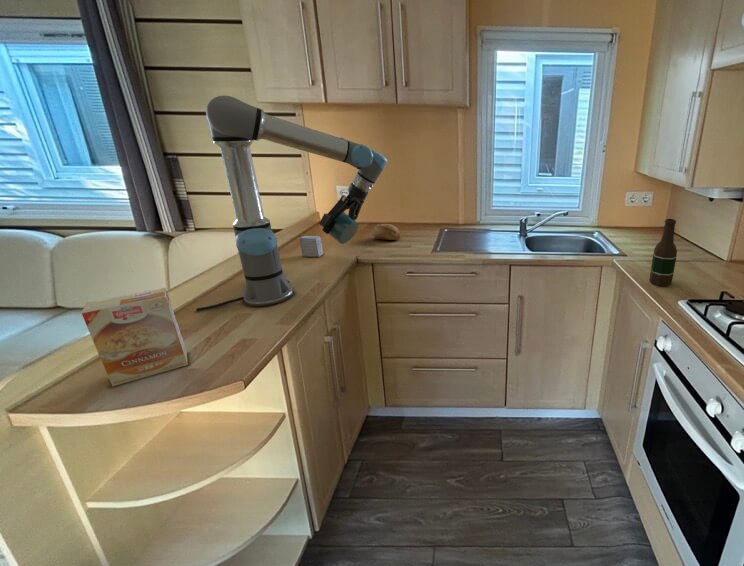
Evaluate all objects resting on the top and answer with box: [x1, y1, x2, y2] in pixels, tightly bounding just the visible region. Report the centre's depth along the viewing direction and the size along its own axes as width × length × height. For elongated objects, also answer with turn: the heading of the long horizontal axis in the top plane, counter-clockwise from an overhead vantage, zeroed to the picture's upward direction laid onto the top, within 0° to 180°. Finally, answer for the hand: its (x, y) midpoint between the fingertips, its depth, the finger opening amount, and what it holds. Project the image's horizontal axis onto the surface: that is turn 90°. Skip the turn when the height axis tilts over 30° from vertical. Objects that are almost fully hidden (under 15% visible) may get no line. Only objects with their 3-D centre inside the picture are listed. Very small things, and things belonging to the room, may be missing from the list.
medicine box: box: [298, 235, 324, 258], centre depth 182 cm, size 8×4×9 cm, turn 84°
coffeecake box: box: [81, 287, 188, 387], centre depth 98 cm, size 15×7×20 cm, turn 126°
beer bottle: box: [649, 218, 678, 288], centre depth 146 cm, size 8×8×24 cm
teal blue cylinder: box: [324, 211, 360, 245], centre depth 165 cm, size 11×11×8 cm
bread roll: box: [372, 223, 402, 241], centre depth 206 cm, size 10×15×8 cm, turn 72°
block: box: [318, 213, 329, 228], centre depth 166 cm, size 5×5×5 cm
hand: (333, 231), depth 166 cm, fingers closed on teal blue cylinder, 11 cm apart
